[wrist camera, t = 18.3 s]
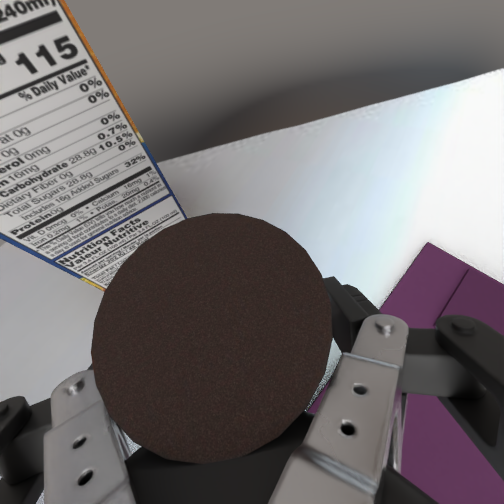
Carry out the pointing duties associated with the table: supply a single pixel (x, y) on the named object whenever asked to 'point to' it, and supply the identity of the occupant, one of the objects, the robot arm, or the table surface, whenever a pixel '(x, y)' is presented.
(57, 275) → the table surface
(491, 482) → the cloth
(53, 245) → the juice carton
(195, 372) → the deodorant
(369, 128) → the table surface
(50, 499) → the robot arm
